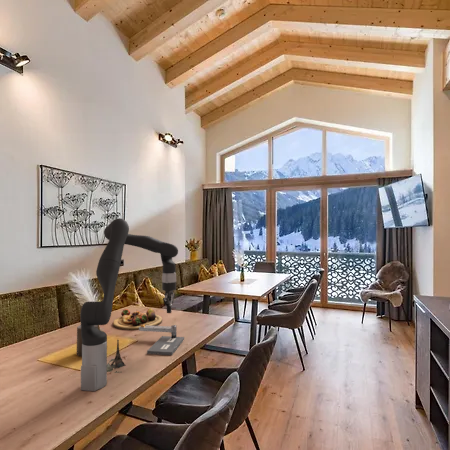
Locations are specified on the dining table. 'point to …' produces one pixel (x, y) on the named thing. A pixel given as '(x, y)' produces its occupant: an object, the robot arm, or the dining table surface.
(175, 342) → the label board
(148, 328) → the swing arm
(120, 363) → the eiffel tower figurine
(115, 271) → the robot arm
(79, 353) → the pillar candle
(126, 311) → the wooden plate with food
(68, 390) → the dining table surface
